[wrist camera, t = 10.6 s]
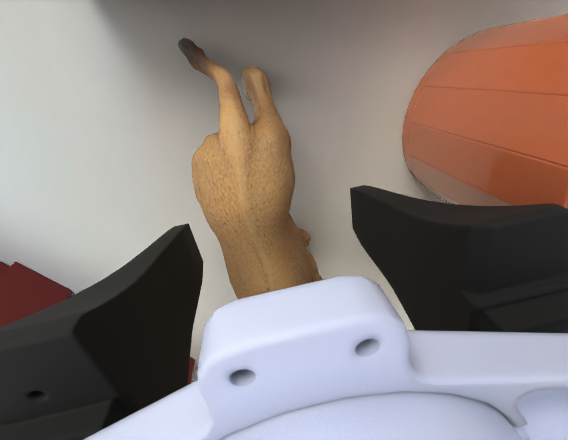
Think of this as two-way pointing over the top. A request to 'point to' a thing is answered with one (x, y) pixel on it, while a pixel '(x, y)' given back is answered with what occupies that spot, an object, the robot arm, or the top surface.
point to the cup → (495, 118)
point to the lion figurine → (250, 185)
